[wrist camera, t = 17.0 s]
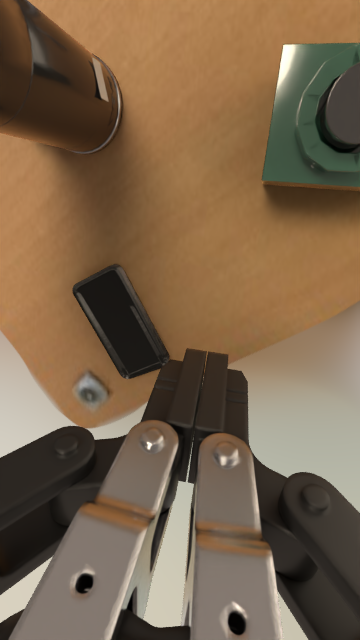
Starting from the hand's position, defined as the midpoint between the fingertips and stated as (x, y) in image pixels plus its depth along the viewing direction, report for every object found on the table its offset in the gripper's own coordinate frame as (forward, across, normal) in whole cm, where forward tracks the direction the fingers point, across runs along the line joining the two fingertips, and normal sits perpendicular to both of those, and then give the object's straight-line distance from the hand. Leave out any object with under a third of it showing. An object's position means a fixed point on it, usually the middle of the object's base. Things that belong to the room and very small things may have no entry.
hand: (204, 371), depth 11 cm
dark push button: (+18, -7, -10) cm, 22 cm away
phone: (+27, +12, +15) cm, 33 cm away
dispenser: (+28, -8, -9) cm, 30 cm away
